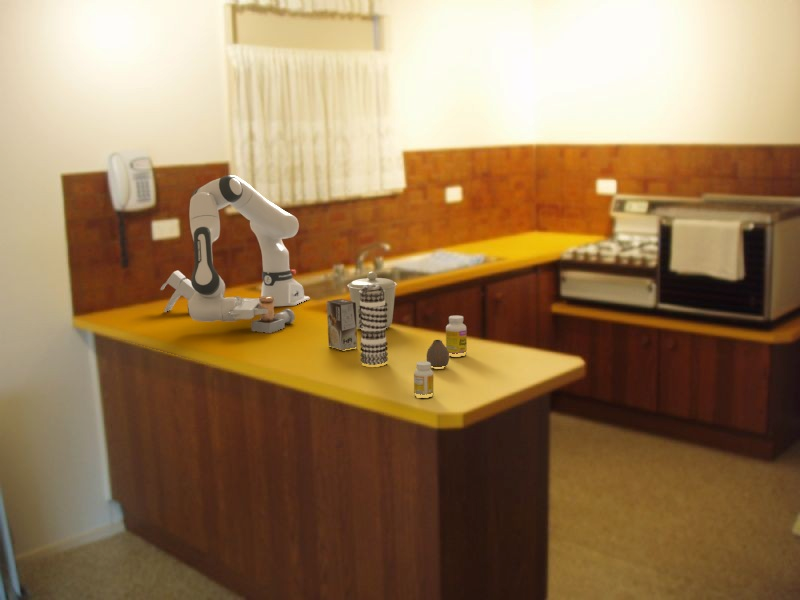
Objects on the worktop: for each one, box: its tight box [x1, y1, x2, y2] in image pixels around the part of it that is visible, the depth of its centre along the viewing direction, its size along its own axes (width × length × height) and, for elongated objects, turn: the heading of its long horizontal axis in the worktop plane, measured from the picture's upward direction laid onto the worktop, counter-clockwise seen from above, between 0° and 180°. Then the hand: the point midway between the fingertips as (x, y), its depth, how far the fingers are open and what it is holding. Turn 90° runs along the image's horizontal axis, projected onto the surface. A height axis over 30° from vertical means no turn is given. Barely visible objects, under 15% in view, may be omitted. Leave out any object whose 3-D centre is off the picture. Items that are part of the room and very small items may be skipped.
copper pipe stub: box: [258, 296, 275, 323], centre depth 345 cm, size 6×6×12 cm
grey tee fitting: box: [250, 308, 296, 334], centre depth 349 cm, size 17×9×6 cm, turn 149°
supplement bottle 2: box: [445, 315, 468, 354], centre depth 302 cm, size 7×7×13 cm
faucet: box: [159, 270, 196, 313], centre depth 383 cm, size 6×16×20 cm
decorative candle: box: [358, 285, 389, 365], centre depth 292 cm, size 9×9×25 cm
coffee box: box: [326, 298, 358, 350], centre depth 315 cm, size 9×6×16 cm
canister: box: [347, 271, 398, 330], centre depth 343 cm, size 18×18×21 cm
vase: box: [426, 339, 450, 367], centre depth 288 cm, size 7×7×9 cm
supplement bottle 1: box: [413, 360, 434, 395], centre depth 258 cm, size 5×5×10 cm
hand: (269, 308), depth 345 cm, fingers open, 7 cm apart
